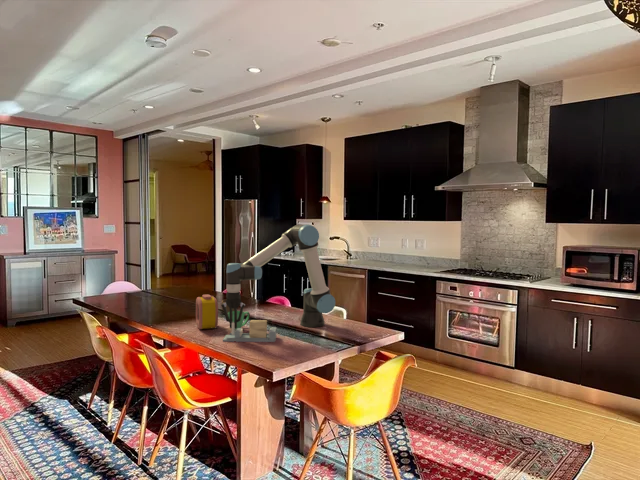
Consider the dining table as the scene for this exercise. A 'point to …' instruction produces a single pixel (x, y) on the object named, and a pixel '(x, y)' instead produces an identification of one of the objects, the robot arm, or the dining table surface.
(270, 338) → the vise
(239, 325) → the mug
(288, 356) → the dining table surface
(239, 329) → the slide jaw
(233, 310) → the flower pot
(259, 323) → the maple block
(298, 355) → the dining table surface
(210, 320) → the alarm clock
